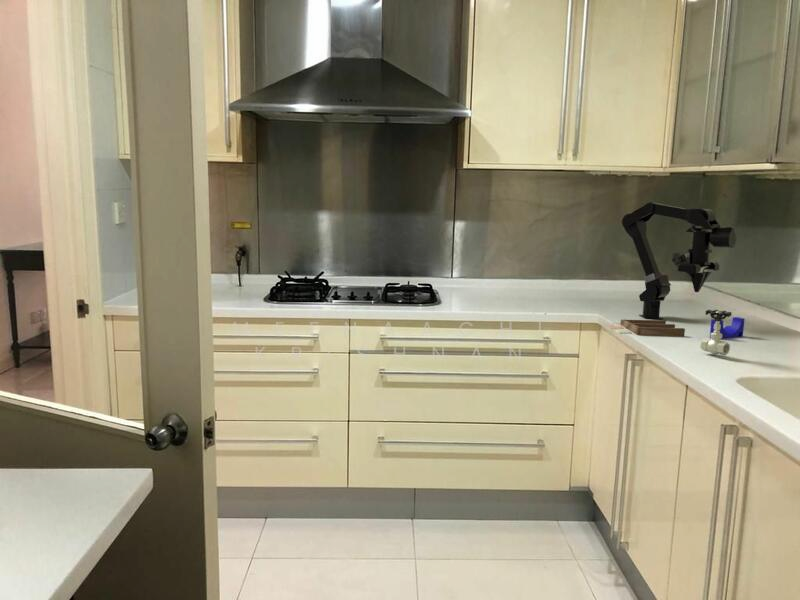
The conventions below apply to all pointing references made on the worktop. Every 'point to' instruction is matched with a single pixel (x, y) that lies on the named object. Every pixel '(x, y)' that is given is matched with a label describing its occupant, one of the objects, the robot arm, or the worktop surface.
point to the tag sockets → (649, 328)
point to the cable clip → (730, 328)
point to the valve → (716, 335)
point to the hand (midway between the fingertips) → (696, 292)
